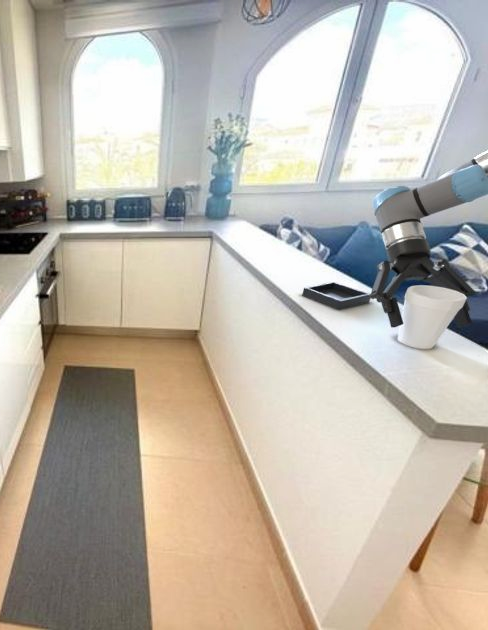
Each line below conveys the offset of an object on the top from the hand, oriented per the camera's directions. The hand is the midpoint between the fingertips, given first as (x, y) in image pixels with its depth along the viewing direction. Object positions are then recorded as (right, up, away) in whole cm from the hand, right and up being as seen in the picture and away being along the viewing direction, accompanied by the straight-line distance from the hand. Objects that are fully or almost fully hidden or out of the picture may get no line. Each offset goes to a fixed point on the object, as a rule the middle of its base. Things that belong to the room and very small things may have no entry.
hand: (430, 326), depth 79 cm
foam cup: (+1, -4, +4) cm, 6 cm away
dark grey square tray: (0, +8, +29) cm, 29 cm away
